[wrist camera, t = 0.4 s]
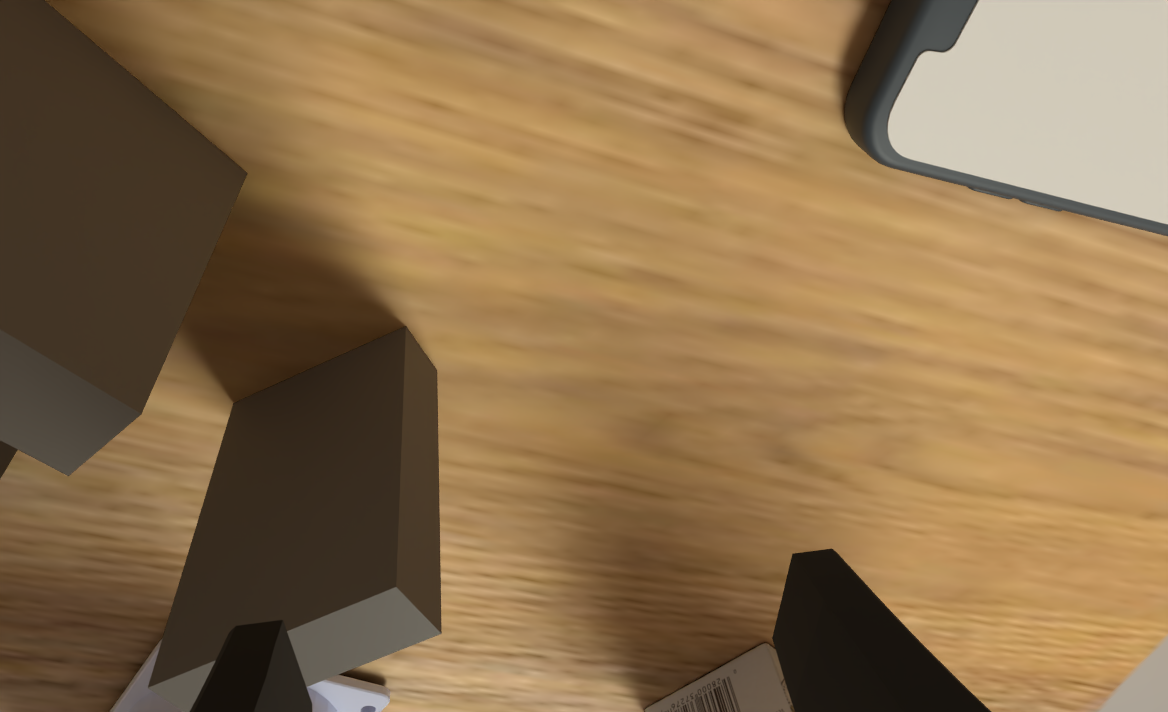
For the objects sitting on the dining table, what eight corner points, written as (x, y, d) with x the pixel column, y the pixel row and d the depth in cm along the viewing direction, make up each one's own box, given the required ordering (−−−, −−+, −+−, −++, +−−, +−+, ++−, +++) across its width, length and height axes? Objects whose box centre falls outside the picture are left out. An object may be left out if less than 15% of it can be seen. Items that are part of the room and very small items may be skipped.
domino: (198, 218, 18) (68, 475, 11) (-35, 36, 15) (-382, 240, 8) (246, 173, 17) (141, 413, 11) (16, -24, 14) (-308, 144, 8)
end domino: (436, 370, 21) (441, 633, 15) (271, 443, 22) (206, 726, 15) (405, 326, 20) (396, 587, 14) (233, 403, 21) (147, 688, 14)
